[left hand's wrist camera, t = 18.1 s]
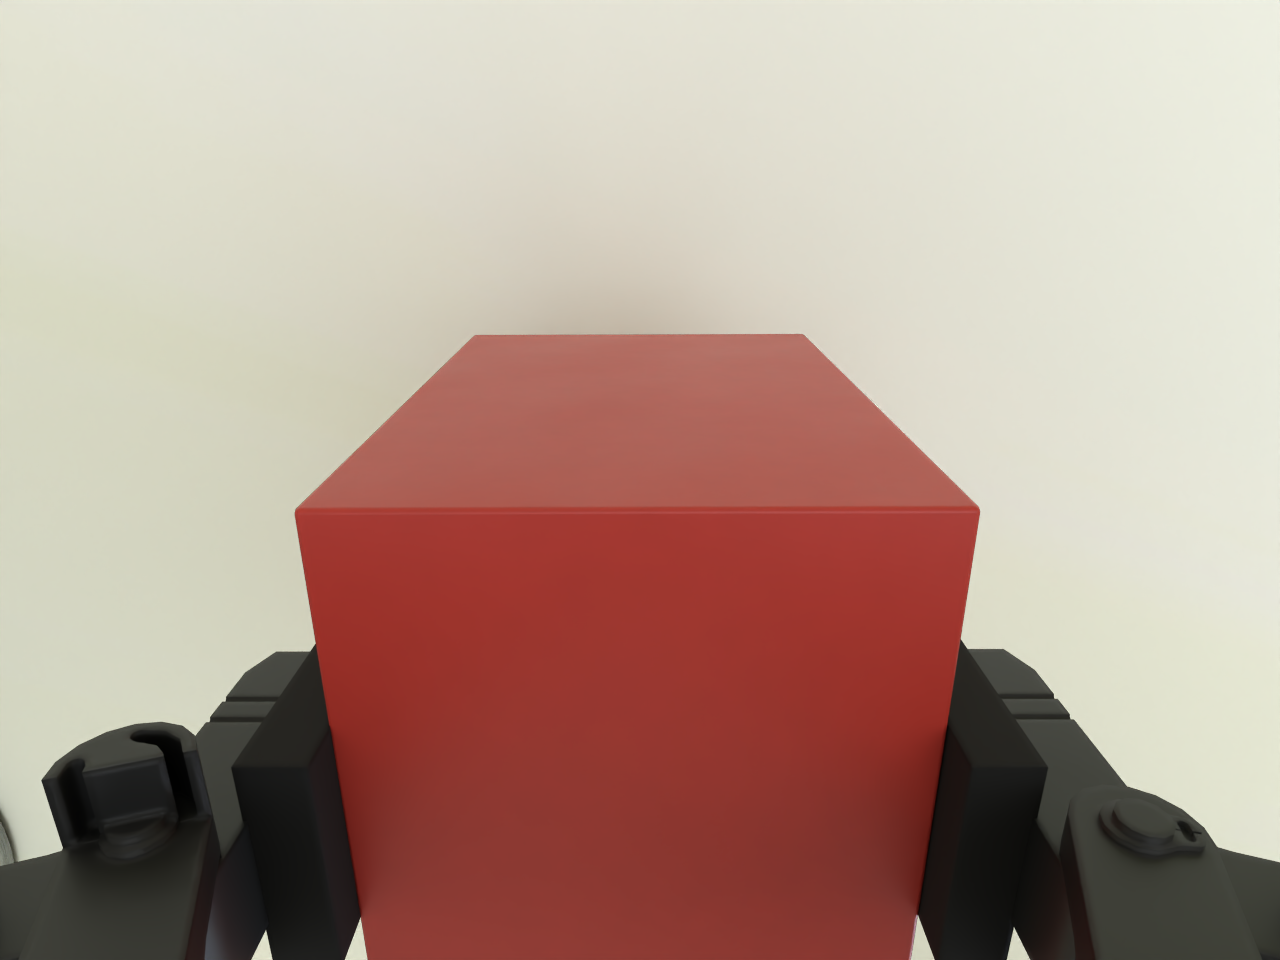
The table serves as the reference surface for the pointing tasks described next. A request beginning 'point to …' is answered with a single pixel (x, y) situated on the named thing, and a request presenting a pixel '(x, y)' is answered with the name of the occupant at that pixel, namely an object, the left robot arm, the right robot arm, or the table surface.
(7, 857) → the right robot arm
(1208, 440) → the table surface
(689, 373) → the brick
